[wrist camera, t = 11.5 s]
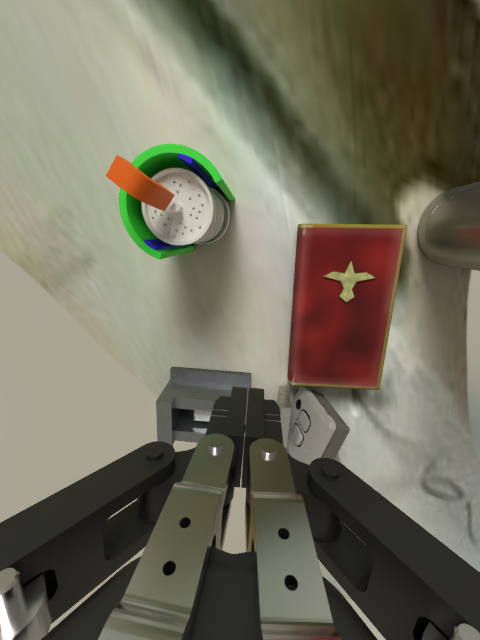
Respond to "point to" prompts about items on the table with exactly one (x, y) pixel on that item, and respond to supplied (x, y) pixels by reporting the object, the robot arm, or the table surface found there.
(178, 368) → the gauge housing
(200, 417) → the plunger
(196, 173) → the green-shelled ribbed roller
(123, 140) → the table surface
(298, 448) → the electrical switch
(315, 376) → the hardcover book
